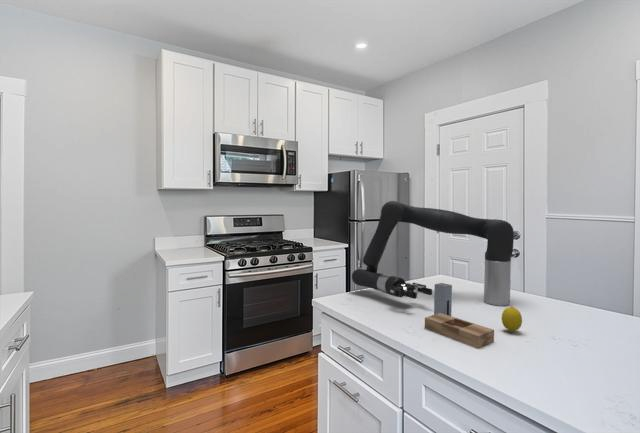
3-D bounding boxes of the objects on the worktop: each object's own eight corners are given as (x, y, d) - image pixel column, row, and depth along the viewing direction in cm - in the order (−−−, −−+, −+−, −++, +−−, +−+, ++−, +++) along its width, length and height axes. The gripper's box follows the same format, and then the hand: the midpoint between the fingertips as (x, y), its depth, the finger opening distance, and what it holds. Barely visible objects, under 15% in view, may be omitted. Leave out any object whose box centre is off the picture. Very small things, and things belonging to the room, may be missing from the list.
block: (441, 316, 120) (441, 282, 119) (451, 319, 116) (452, 285, 116) (433, 318, 117) (434, 284, 117) (444, 322, 114) (444, 286, 114)
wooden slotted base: (440, 323, 113) (440, 312, 113) (493, 341, 98) (494, 329, 98) (424, 328, 108) (424, 317, 108) (478, 348, 94) (478, 335, 94)
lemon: (524, 336, 103) (525, 309, 102) (504, 334, 104) (505, 308, 103) (517, 329, 108) (518, 304, 108) (498, 328, 109) (499, 303, 109)
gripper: (378, 277, 132) (411, 286, 119) (403, 273, 140) (436, 281, 127) (378, 297, 133) (410, 307, 119) (403, 291, 141) (436, 301, 127)
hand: (424, 294), depth 123 cm, fingers open, 8 cm apart
